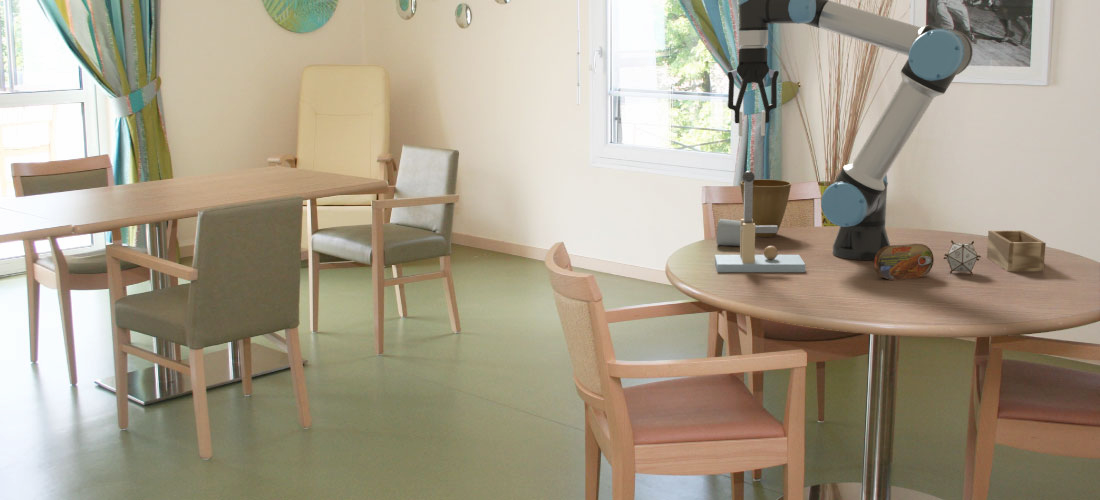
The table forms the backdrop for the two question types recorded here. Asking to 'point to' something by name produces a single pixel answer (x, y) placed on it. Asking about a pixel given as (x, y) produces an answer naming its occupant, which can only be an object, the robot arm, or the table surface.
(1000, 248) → the box
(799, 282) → the table surface
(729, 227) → the ceramic mug
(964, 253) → the game die
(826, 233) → the table surface
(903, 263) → the tin
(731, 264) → the base
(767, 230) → the lever
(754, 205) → the plant pot
